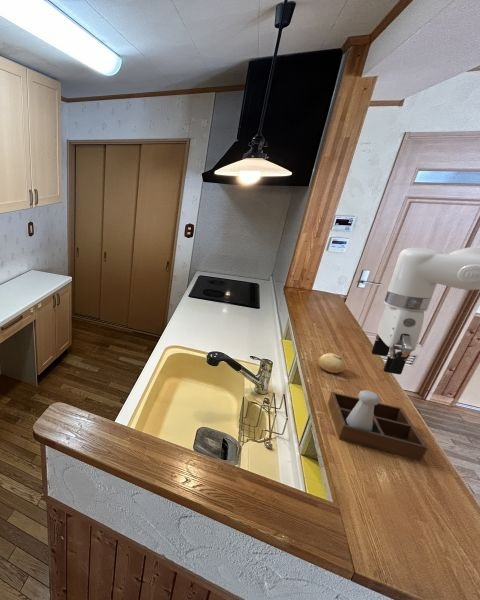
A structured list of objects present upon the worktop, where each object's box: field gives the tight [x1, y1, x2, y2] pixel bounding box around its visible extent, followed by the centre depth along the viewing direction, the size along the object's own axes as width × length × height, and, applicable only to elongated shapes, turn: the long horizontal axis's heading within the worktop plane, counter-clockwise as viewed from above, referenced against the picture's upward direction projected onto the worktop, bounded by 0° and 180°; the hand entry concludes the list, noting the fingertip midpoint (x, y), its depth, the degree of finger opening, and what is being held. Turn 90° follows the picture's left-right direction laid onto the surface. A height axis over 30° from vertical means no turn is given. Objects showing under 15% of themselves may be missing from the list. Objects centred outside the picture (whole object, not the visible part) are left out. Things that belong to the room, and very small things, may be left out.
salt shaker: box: [345, 389, 381, 432], centre depth 88 cm, size 6×6×13 cm
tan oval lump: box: [317, 352, 346, 374], centre depth 121 cm, size 8×8×7 cm
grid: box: [327, 391, 428, 462], centre depth 92 cm, size 17×17×5 cm
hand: (385, 363), depth 82 cm, fingers open, 9 cm apart
